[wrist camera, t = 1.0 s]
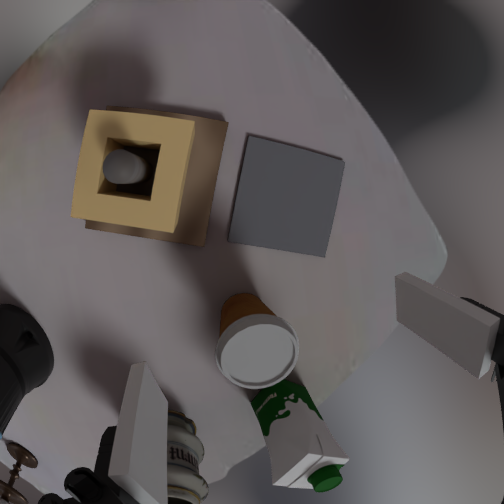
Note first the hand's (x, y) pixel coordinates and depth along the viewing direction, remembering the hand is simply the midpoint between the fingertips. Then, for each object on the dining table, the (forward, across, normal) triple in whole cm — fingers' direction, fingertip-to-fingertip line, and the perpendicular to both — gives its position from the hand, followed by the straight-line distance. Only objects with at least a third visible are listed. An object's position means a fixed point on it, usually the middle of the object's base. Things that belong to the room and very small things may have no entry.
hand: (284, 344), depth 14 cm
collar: (+18, -6, +11) cm, 22 cm away
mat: (+27, +10, +3) cm, 29 cm away
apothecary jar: (+27, -19, -30) cm, 45 cm away
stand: (+27, -6, +11) cm, 30 cm away
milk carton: (+27, +1, -28) cm, 39 cm away
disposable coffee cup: (+27, 0, -11) cm, 29 cm away
